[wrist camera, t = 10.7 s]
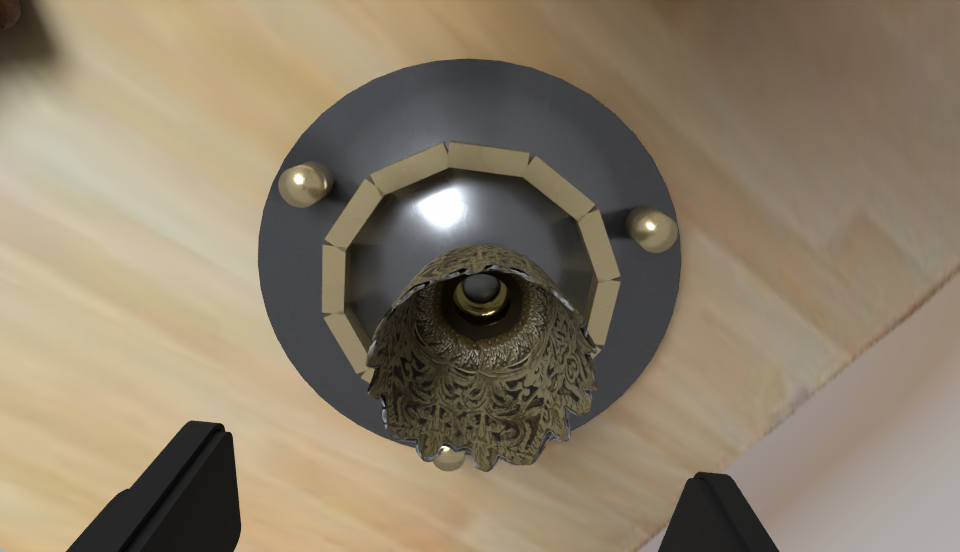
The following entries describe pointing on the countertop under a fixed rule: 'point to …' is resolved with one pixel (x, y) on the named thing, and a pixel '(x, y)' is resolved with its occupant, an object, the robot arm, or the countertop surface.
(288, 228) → the carrier plate
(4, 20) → the bolt
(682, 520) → the robot arm
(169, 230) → the countertop surface
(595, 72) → the countertop surface
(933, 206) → the countertop surface
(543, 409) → the dark hollow rounded piece
